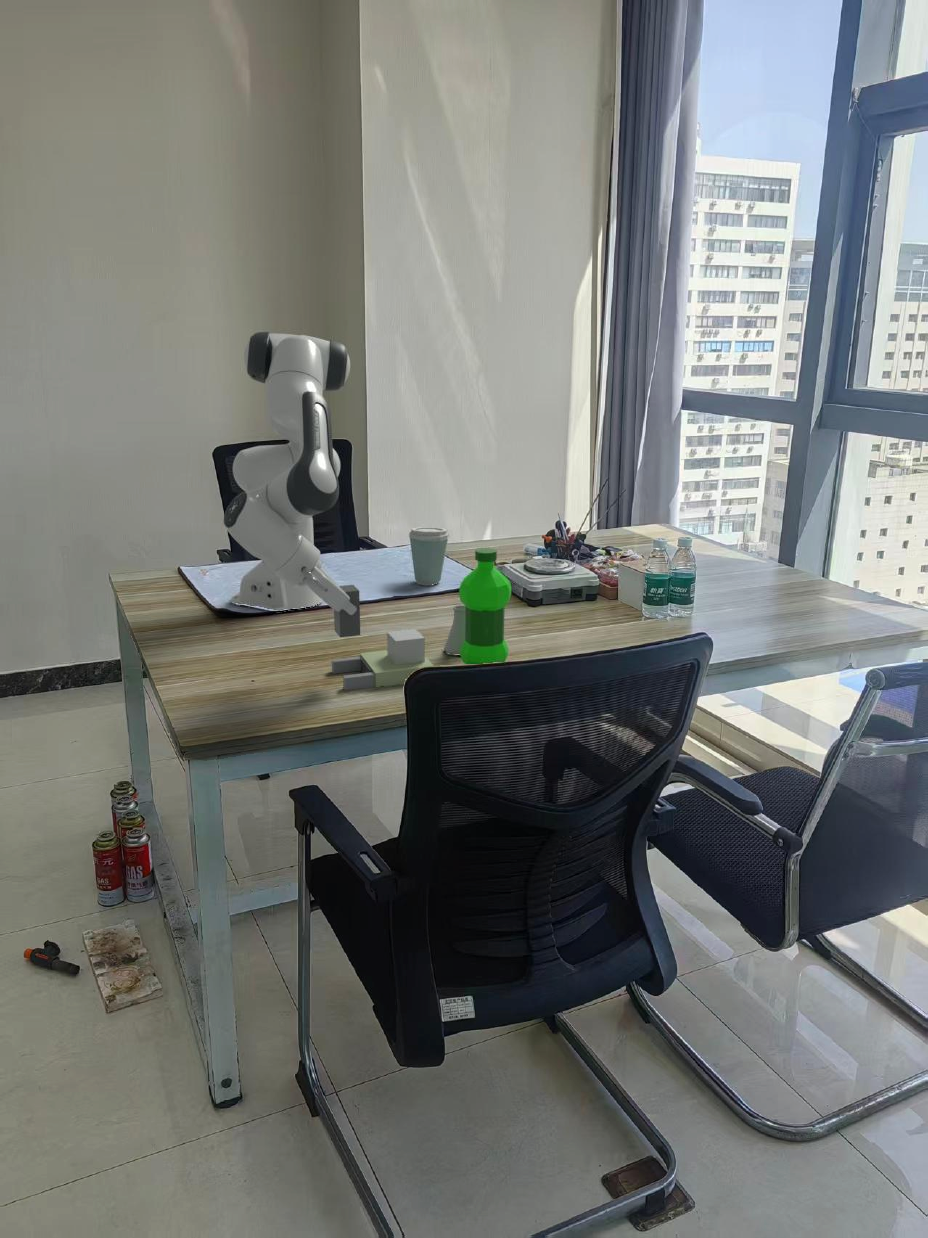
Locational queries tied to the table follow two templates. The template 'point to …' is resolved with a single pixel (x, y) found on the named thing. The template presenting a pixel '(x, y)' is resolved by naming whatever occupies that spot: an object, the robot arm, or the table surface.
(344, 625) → the chute block
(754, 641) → the table surface
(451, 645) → the flask
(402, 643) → the pronged platform block
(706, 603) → the table surface
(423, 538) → the disposable coffee cup
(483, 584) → the plastic bottle
